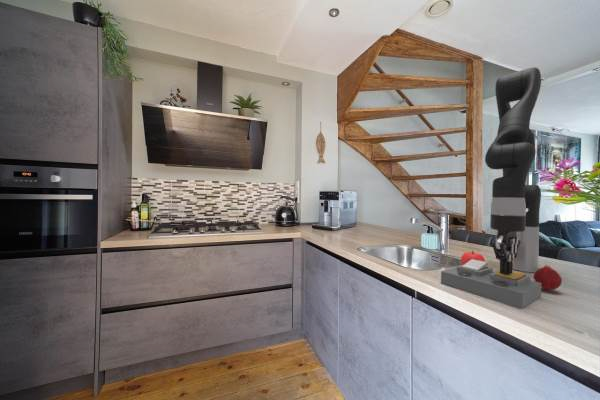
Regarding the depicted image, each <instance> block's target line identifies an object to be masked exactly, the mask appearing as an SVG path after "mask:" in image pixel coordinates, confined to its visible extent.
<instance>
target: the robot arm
mask: <svg viewBox="0 0 600 400" xmlns="http://www.w3.org/2000/svg"><path fill="white" fill-rule="evenodd" d="M541 85H542V74H541V71H540V69H539V68H538V67H529V68H526V69H522V70H519V71H515V72H511V73H508V74H505V75H501V76H499V77H497V79H496V82H495V90H494V91H495V98H496V105H497V113H498V119H499V125H498V128H497V133H496V134H497V135H496V136H495V138H494V140H493V142H492V143H491V144H490V146H489V147H488V149H487V151H486V153H485V157H484V158H485V159H484V161H485V165H486V166H487V167H488V168H489V169H491V170H502V176H501V177H497V178H494V179H493V181H492V185H491V186H492V190H491V192H492V193H491V194H492V197H491V202H490V203H491V204H490V220H489V222H490V226H489V227H490V229H492V230H494V231H495V230H496V231H497V233H496V234H497V235H496V236H495V241H492V243H491V245H492V249H493V251H494V252H493V253H494V255H495V259H496V260H498V261H499V270H500V273H501V274H505V275H510V274H512V271H517V272H523V273H525V272H526V273H535V272H536V271H537V270H538V269H539V256H540V255H539V252H540V251H539V248H540V245H539V244H540V208H541V200H542V199H541V198H542V191H541V190H542V189H541V187H540V186H539V185H537V184H526V182H527V177H528V174H529V172H530V169H531V166H532V165H533V162H534V160H535V157H536V153H537V152H536V148H535V147H536V145H535V141H536V139H535V138H536V137H535V134H534V132H533V131H532V130H531V128H530V124H531V123H530V122H531V117H532V114H533V111H534V109H535V106H536V103H537V100H538V97H539V94H540V90H541ZM514 102H517V103H515V104H514V105H513V106H511V105H510V103H514Z"/></svg>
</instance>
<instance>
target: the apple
mask: <svg viewBox="0 0 600 400" xmlns="http://www.w3.org/2000/svg"><path fill="white" fill-rule="evenodd" d="M471 259H474V260H478V261H483V262H486V260H485V258H484V256H483V254H481V253H477V252H474V250H472V251H471V252H468V251H467V252H463V254H462V255H461V257H460V264H461V265H464V264H466V263H467V262H469V261H470V260H471ZM461 265H460V266H461Z"/></svg>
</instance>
